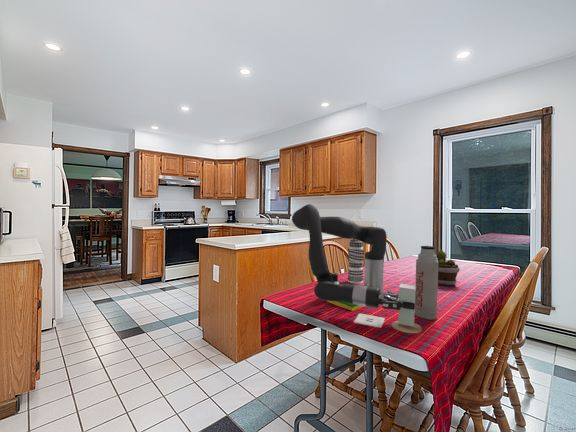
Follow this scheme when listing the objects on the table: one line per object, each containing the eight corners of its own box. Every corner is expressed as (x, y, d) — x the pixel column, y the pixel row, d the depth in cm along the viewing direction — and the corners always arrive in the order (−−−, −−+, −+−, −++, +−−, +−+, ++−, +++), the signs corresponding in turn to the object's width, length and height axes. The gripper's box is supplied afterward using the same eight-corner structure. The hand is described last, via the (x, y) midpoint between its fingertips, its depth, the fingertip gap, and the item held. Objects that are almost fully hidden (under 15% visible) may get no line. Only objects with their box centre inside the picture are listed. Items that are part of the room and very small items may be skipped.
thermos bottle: (421, 319, 110) (423, 247, 109) (410, 312, 117) (412, 244, 116) (441, 319, 110) (443, 247, 109) (429, 311, 118) (431, 244, 117)
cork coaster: (393, 320, 109) (393, 318, 109) (422, 325, 104) (422, 323, 104) (390, 330, 100) (390, 328, 100) (421, 336, 95) (421, 334, 95)
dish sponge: (336, 298, 132) (336, 293, 132) (362, 307, 122) (362, 302, 122) (326, 301, 127) (326, 296, 127) (352, 311, 117) (353, 305, 117)
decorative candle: (347, 283, 160) (348, 239, 160) (346, 279, 170) (347, 237, 169) (364, 284, 159) (365, 239, 158) (362, 280, 168) (363, 238, 167)
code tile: (359, 314, 115) (359, 313, 115) (385, 318, 110) (385, 317, 110) (353, 323, 106) (353, 322, 106) (381, 328, 101) (381, 327, 101)
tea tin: (399, 318, 106) (400, 283, 105) (414, 321, 103) (415, 285, 103) (397, 323, 101) (399, 287, 100) (413, 326, 99) (415, 289, 98)
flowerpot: (465, 287, 154) (466, 251, 154) (437, 287, 155) (438, 251, 154) (450, 280, 169) (451, 247, 168) (424, 280, 169) (425, 247, 168)
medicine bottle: (338, 301, 129) (338, 275, 129) (322, 300, 131) (323, 274, 130) (338, 296, 136) (339, 272, 136) (323, 295, 138) (324, 271, 137)
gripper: (362, 291, 102) (414, 299, 94) (370, 282, 114) (416, 288, 107) (362, 312, 102) (413, 321, 94) (369, 300, 115) (415, 308, 107)
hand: (414, 304), depth 101 cm, fingers closed on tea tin, 5 cm apart
